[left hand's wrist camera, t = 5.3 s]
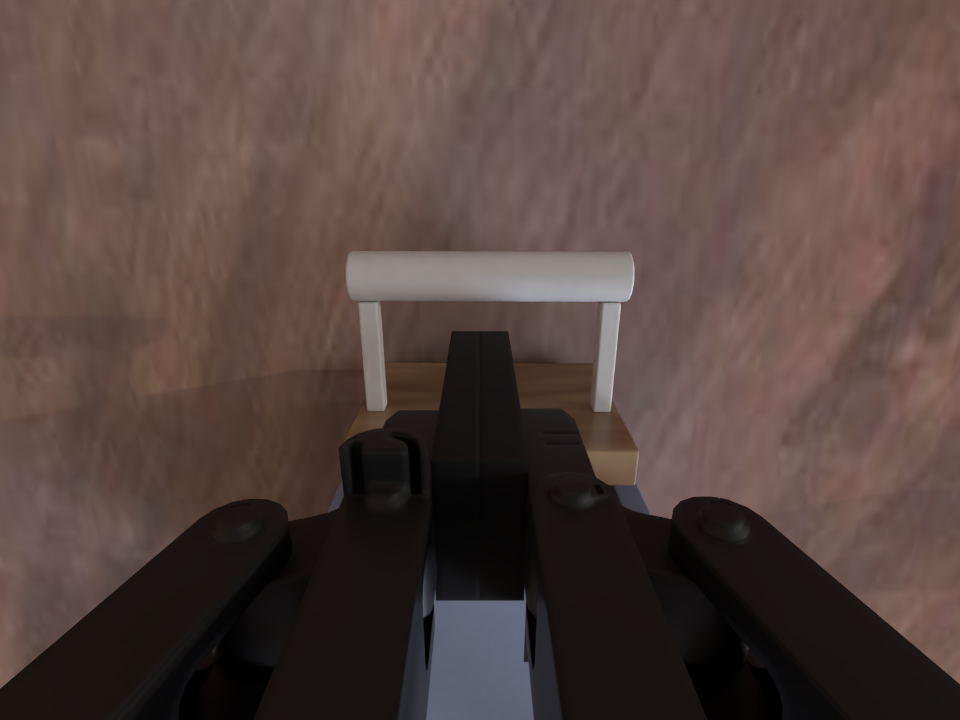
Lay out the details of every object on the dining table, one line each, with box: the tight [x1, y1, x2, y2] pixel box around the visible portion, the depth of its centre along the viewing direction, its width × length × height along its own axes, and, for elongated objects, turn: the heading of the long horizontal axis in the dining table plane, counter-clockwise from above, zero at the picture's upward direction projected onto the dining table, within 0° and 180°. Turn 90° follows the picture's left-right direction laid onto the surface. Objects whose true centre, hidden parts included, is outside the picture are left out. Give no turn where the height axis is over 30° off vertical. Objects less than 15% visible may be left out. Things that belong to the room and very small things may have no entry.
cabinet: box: [327, 480, 651, 720], centre depth 22 cm, size 16×10×9 cm, turn 0°
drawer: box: [343, 251, 639, 485], centre depth 20 cm, size 21×9×7 cm, turn 0°
